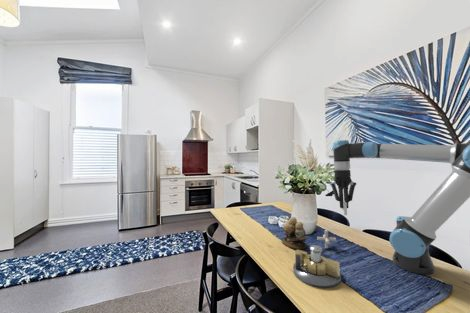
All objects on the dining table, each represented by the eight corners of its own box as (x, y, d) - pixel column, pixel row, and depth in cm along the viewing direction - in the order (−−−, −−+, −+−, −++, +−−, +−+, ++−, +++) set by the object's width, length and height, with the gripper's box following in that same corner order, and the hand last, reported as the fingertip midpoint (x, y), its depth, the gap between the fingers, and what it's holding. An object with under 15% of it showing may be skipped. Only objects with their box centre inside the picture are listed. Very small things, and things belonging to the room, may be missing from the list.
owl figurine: (313, 248, 119) (313, 219, 119) (298, 253, 113) (298, 222, 113) (291, 237, 135) (290, 211, 135) (277, 241, 129) (276, 214, 129)
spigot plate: (349, 275, 91) (349, 248, 91) (325, 294, 79) (325, 263, 79) (309, 258, 107) (308, 235, 107) (284, 272, 95) (284, 246, 95)
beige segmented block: (342, 271, 91) (341, 258, 91) (335, 281, 83) (335, 268, 83) (300, 257, 103) (300, 246, 103) (291, 265, 96) (291, 253, 96)
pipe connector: (338, 252, 114) (338, 234, 114) (319, 250, 116) (318, 233, 116) (333, 244, 123) (333, 228, 123) (315, 243, 125) (315, 227, 125)
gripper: (351, 168, 112) (353, 212, 111) (326, 169, 113) (329, 212, 112) (358, 169, 105) (361, 216, 104) (332, 170, 105) (334, 216, 105)
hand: (344, 214), depth 108 cm, fingers closed
